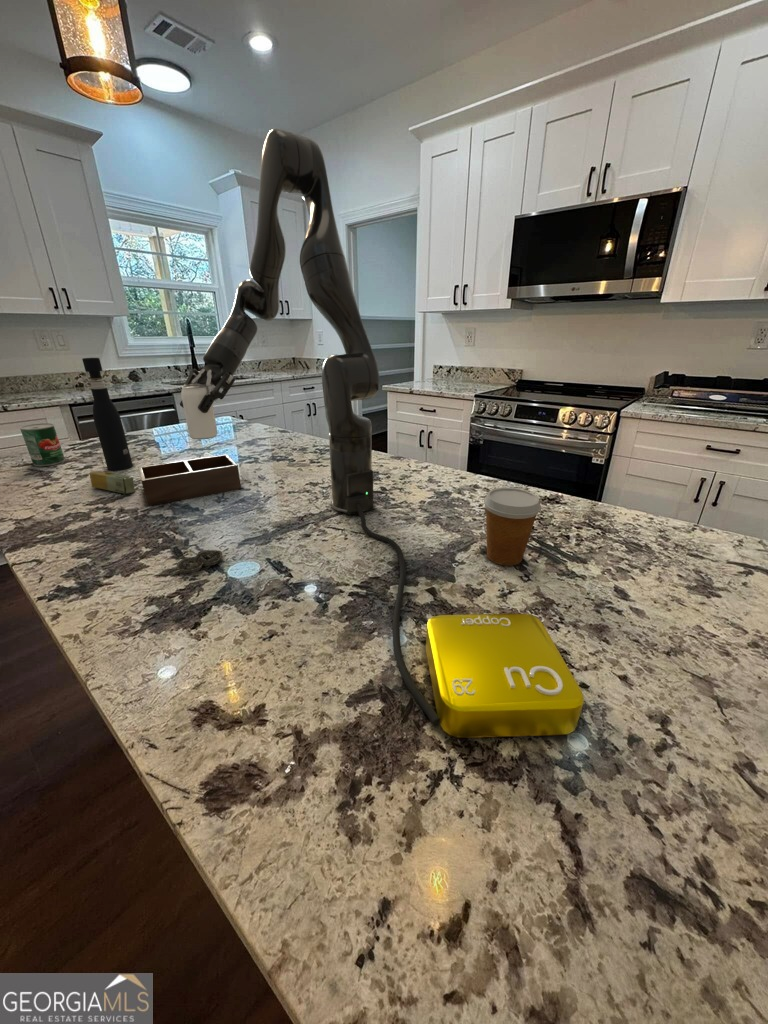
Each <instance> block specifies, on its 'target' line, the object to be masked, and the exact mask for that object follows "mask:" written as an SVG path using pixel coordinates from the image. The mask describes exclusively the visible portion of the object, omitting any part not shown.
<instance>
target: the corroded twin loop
mask: <svg viewBox="0 0 768 1024" xmlns="http://www.w3.org/2000/svg"><path fill="white" fill-rule="evenodd" d="M222 556H223V551H222V550H218V549H207V550H203V551H199V552H198V553H197V554H196V555H195V556H193V557H192V556H191V557H190V556H189V557H185V558H182V559H180V561H178V562H177V563H176V569H177V571H179V572H180V573H195V572H198V571H200V570H201V569H202V567H210V566H215V565H217V564H218V563H219V562H220V560H221V558H222ZM206 558H207V559H206ZM192 564H193V565H192Z"/></svg>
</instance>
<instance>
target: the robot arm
mask: <svg viewBox="0 0 768 1024" xmlns="http://www.w3.org/2000/svg"><path fill="white" fill-rule="evenodd" d="M328 177H329V176H328V172H327V167H326V162H325V159H324V155H323V152H322V150H321V147H320V146H319V144H318V143H317V142H316V141H315V140H313V139H312V138H310V137H307V136H304V135H301V134H297V133H294V132H291V131H287V130H284V129H280V128H273V129H271V130H269V132H268V133H267V135H266V136H265V139H264V143H263V147H262V153H261V161H260V172H259V187H258V188H259V189H258V202H257V203H258V206H257V223H256V232H255V235H256V236H255V240H254V245H253V250H252V254H251V259H250V264H249V275H250V277H251V278H252V279H253V280H254V281H253V280H251V279H246V280H243V281H241V282H240V283H239V284H238V286H237V289H236V293H235V297H234V298H235V299H234V302H233V306H232V309H231V312H230V315H229V317H228V318H227V320H226V322H225V323H224V325H223V327H222V328H221V330H220V331H219V332H218V333H217V334H216V335H215V337H214V338H213V340H212V342H211V344H210V345H209V347H208V348H207V351H206V352H205V353H204V355H203V356H202V360H203V363H204V366H203V367H202V368H201V369H200V370H198V369H196V368H193V369H191V371H190V373H189V375H188V377H187V378H186V380H185V382H184V383H183V386H184V385H191V384H202V385H203V384H205V385H206V386H207V393H206V394H207V395H205V396H204V397H203V399H202V401H201V402H200V404H199V406H198V409H199V410H200V411H201V412H203V413H207V412H208V410H209V409H210V407H211V405H212V404H213V405H214V402H216V401H218V399H219V400H223V399H224V398H225V397H226V395H227V394H228V392H229V390H230V389H231V388H232V386H233V385H234V383H235V381H236V379H235V378H234V376H235V375H234V374H235V373H236V371H237V369H238V368H239V366H240V364H241V363H242V361H243V360H244V357H245V356H246V354H247V352H248V348H249V347H250V346H251V344H252V342H253V340H254V338H255V336H256V335H257V333H258V325H257V324H256V322H255V320H254V319H253V318H252V316H250V315H249V314H251V315H253V316H255V317H256V318H258V319H259V320H262V321H264V322H271V321H273V320H274V319H275V318H277V316H278V313H279V311H280V278H281V274H282V271H283V268H284V264H285V261H286V255H287V246H286V240H285V236H284V232H283V229H282V226H281V225H282V224H281V222H280V217H279V209H278V207H279V202H280V197H281V194H282V193H286V194H292V195H297V196H301V198H302V199H303V200H304V203H305V206H306V210H307V217H308V225H307V228H306V231H305V235H304V238H303V241H302V244H301V248H300V253H299V266H300V271H301V275H302V278H303V282H304V286H305V289H306V291H307V292H306V294H307V295H308V297H309V299H310V301H311V303H312V304H313V305H314V307H315V308H316V310H317V311H318V312H319V313H320V314H321V315H322V316H323V318H324V319H325V321H327V323H329V325H330V326H331V327H332V328H333V330H334V331H335V333H336V334H337V336H338V338H339V339H340V342H341V345H342V347H343V349H344V353H340V354H339V353H337V354H331V355H329V356H327V357H326V358H325V360H324V361H323V364H322V367H321V387H322V394H323V395H322V396H323V403H324V404H323V405H324V415H325V419H326V424H327V426H328V427H327V428H328V442H329V445H328V446H329V460H330V462H329V465H330V483H331V496H332V497H331V499H332V500H331V507H332V508H333V509H334V510H335V511H336V512H339V513H344V514H348V515H350V516H352V515H355V514H358V515H359V518H360V526H361V529H362V530H363V532H364V533H365V534H366V535H368V536H369V537H371V538H373V539H375V540H378V541H382V542H385V543H387V544H389V545H390V546H391V547H393V549H394V551H395V552H396V553H397V558H398V564H399V579H398V585H397V592H396V597H395V598H396V599H395V604H394V608H393V615H392V647H393V648H392V649H393V653H394V658H395V661H396V665H397V668H398V670H399V674H400V676H401V678H402V680H403V682H404V684H405V687H406V688H407V689H408V691H409V693H410V694H411V696H412V697H413V698H414V700H415V701H416V703H417V704H418V705H419V707H420V708H421V709H422V711H423V712H424V714H425V715H426V717H427V718H428V720H429V721H430V723H431V724H432V726H438V725H440V724H439V717H438V715H437V711H436V710H435V709H434V708H433V706H432V705H431V704H430V702H429V700H427V698H426V697H425V696H424V694H423V693H422V692H421V690H420V689H419V688H418V686H417V685H416V683H415V681H414V680H413V678H412V676H411V674H410V672H409V669H408V668H407V665H406V663H405V660H404V656H403V652H402V646H401V634H400V633H401V632H400V631H401V630H400V622H401V621H400V619H401V612H402V606H403V600H404V593H405V592H404V591H405V584H406V577H407V570H406V562H405V557H404V553H403V550H402V548H401V547H400V545H399V544H398V543H397V542H396V541H395V540H393V539H392V538H390V537H387V536H384V535H381V534H378V533H375V532H373V531H372V530H370V528H368V525H367V522H366V516H365V514H364V512H368V511H372V510H374V470H373V463H372V461H373V460H372V458H373V456H372V449H373V448H372V444H373V443H372V442H373V441H372V433H373V432H372V431H373V430H372V421H371V419H370V418H368V417H366V416H363V415H360V414H357V413H355V412H354V410H353V403H352V402H354V401H361V400H368V399H371V398H374V397H375V396H376V395H377V393H378V392H379V388H380V383H381V382H380V381H381V379H380V371H379V366H378V363H377V360H376V357H375V354H374V351H373V348H372V345H371V343H370V340H369V338H368V335H367V331H366V329H365V326H364V322H363V320H362V317H361V314H360V310H359V306H358V303H357V300H356V296H355V292H354V289H353V284H352V277H351V275H350V271H349V267H348V263H347V260H346V255H345V252H344V250H343V245H342V242H341V238H340V235H339V230H338V225H337V222H336V216H335V211H334V208H333V202H332V197H331V196H332V195H331V189H330V185H329V178H328ZM246 312H248V313H249V314H247V313H246ZM179 406H180V407H181V408H183V409H184V407H183V402H182V400H181V401H180V402H179Z"/></svg>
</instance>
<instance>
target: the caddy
mask: <svg viewBox="0 0 768 1024" xmlns="http://www.w3.org/2000/svg"><path fill="white" fill-rule="evenodd" d="M137 470H138V474H139V477H140V481H141V485H142V490H143V493H144V497H145V502H146V504H147V507H151V506H155V505H161V504H165V503H166V504H167V503H172V502H176V501H182V500H188V499H193V498H199V497H203V496H209V495H213V494H220V493H224V492H225V493H226V492H230V491H235V490H240V489H242V485H241V478H240V477H241V476H240V473H239V472H240V471H239V465H238V464H237V463H236V462H235V461H234V459H232V457H231V456H230V455H229V454H228V453H226V454H220V455H212V456H205V457H198V458H192V459H184V460H178V461H177V460H176V461H171V462H164V463H157V464H151V465H144V466H143V465H142V466H138V467H137Z"/></svg>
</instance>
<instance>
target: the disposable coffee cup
mask: <svg viewBox="0 0 768 1024" xmlns="http://www.w3.org/2000/svg"><path fill="white" fill-rule="evenodd" d="M483 505H484V507H485V524H486V527H485V529H486V531H485V532H486V533H485V534H486V557H487V559H488V560H490V561H491V562H493V563H495V564H497V565H501V566H509V567H510V566H517V565H519V564H521V562H522V561H523V557H524V554H525V551H526V549H527V545H528V542H529V539H530V536H531V533H532V531H533V530H532V529H533V527H534V524H535V521H536V517H537V515H539V512H541V509H542V505H541V504H540V498H539V496H538V495H536V494H535V493H533V492H531V491H529V490H526V489H521V488H517V487H496V488H494V489H493V488H492V489H491V490H489V491H488V492H487V495H486V496H485V497H484V499H483Z"/></svg>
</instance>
